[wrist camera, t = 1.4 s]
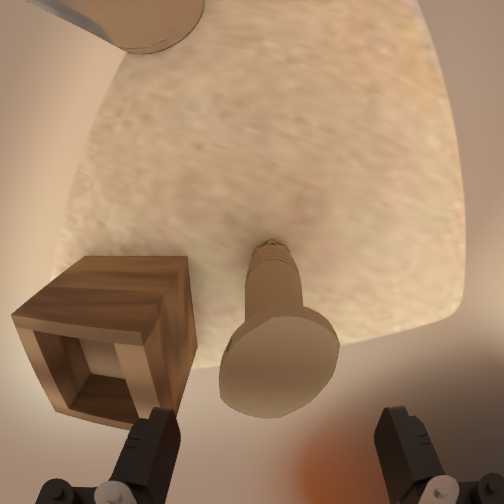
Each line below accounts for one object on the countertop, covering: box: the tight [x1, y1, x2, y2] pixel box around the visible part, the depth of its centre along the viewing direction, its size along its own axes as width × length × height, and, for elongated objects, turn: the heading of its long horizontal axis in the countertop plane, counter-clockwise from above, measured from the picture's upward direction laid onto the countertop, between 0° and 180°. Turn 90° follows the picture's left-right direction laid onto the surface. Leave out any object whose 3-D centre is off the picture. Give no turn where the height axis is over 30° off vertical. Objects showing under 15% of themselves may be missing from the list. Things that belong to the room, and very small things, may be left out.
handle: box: [219, 240, 340, 418], centre depth 20 cm, size 5×6×15 cm
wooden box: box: [11, 256, 197, 430], centre depth 24 cm, size 10×11×12 cm
